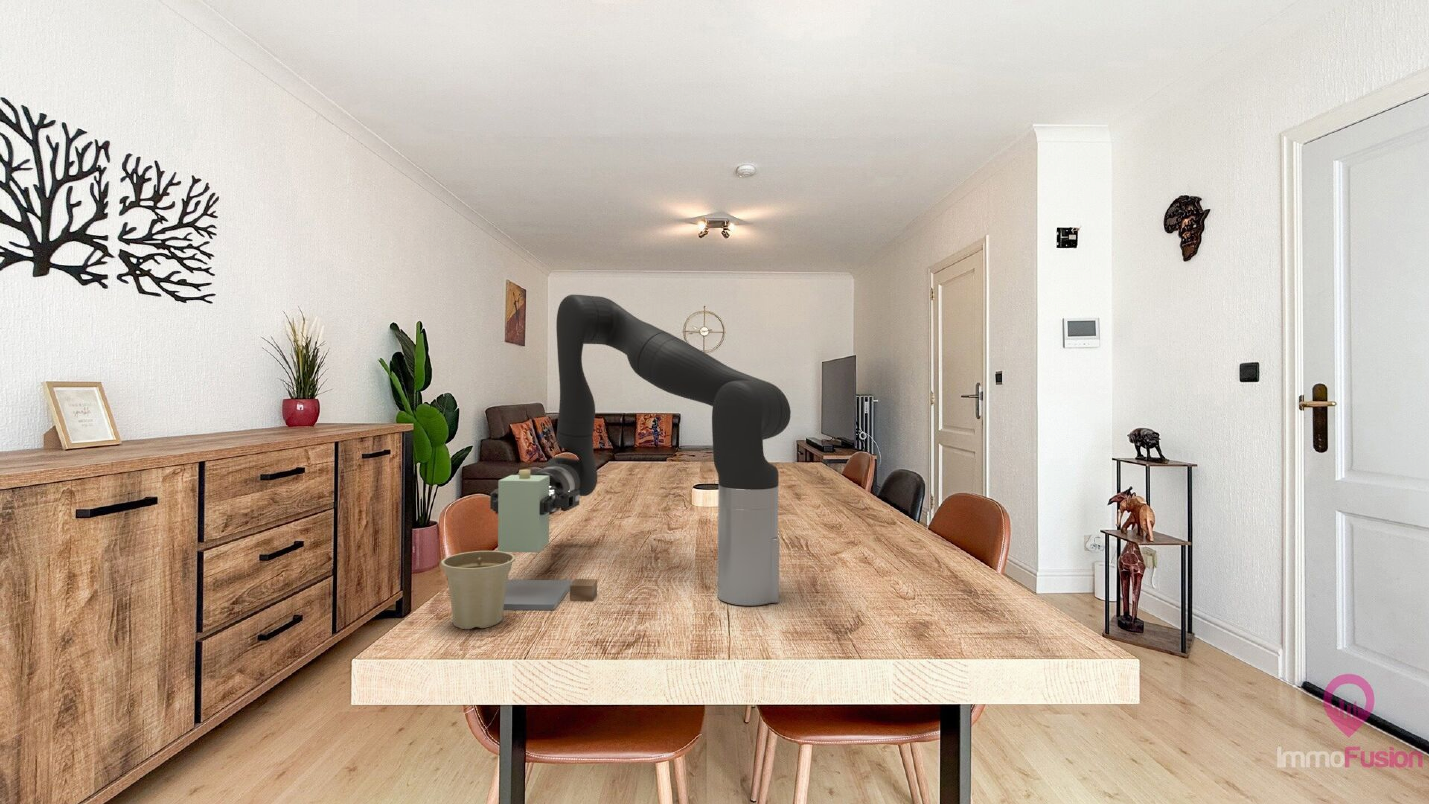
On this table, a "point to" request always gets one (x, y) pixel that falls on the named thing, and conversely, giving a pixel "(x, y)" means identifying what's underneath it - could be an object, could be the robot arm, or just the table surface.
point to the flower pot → (477, 586)
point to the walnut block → (583, 590)
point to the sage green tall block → (522, 513)
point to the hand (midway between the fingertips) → (519, 507)
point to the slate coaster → (535, 594)
